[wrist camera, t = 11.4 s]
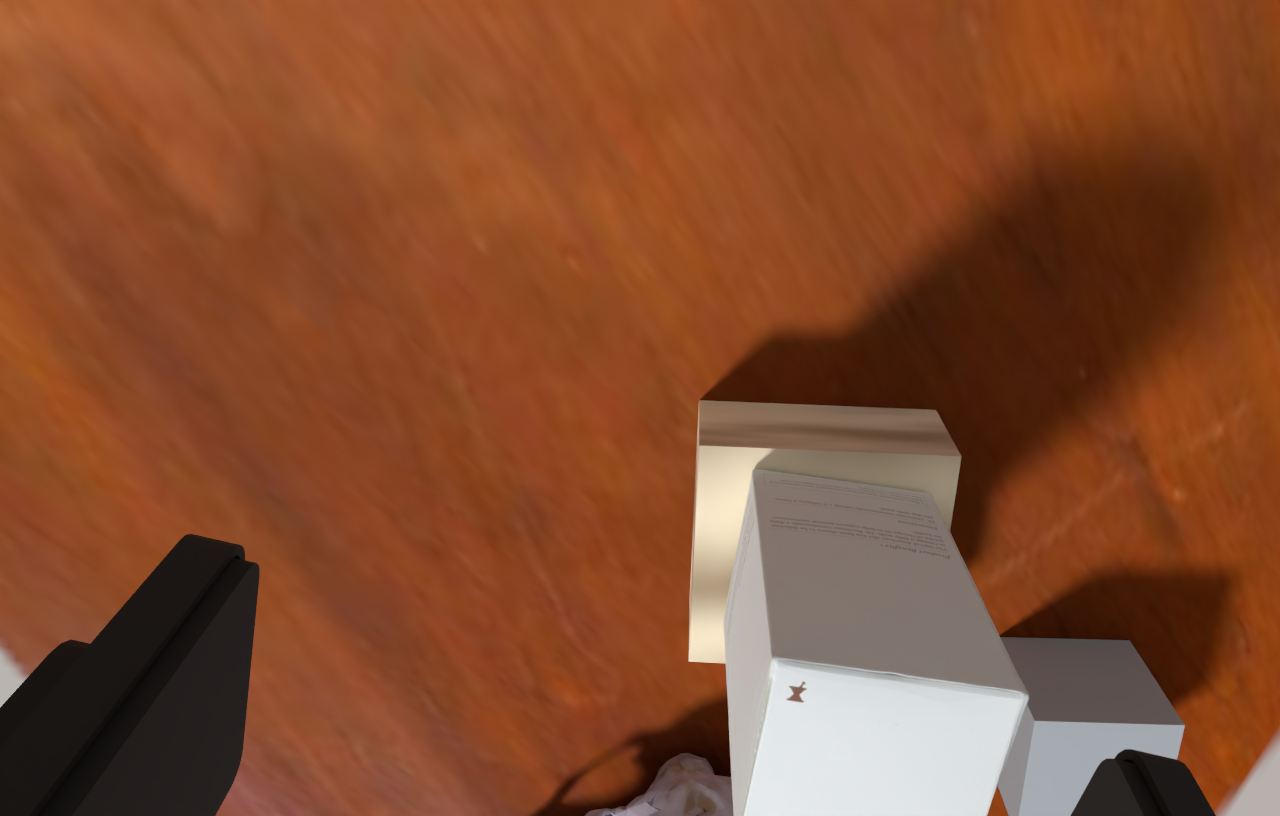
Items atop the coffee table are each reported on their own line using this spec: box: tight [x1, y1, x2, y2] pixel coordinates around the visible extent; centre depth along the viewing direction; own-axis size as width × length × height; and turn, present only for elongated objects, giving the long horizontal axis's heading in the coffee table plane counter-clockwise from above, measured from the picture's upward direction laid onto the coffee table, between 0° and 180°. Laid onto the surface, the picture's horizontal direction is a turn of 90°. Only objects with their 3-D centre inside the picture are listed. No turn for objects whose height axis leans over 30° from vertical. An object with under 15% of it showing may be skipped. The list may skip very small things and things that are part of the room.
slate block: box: [998, 637, 1185, 816], centre depth 47 cm, size 6×6×6 cm
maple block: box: [689, 400, 962, 663], centre depth 44 cm, size 10×10×5 cm
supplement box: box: [723, 469, 1029, 816], centre depth 36 cm, size 7×7×13 cm
